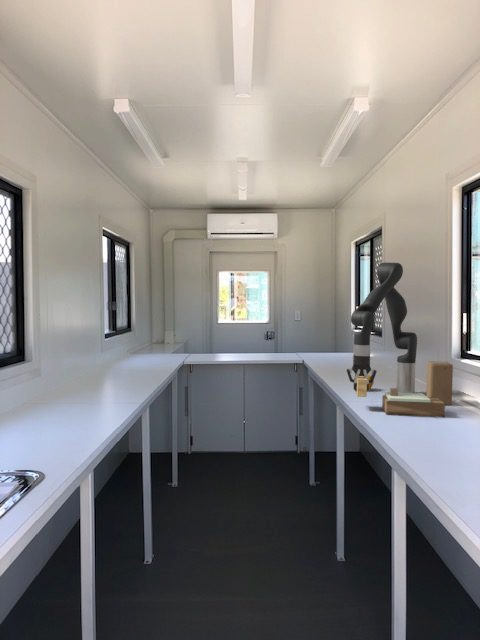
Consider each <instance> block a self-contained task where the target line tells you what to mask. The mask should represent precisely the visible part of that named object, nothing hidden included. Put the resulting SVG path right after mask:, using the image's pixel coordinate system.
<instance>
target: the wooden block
mask: <svg viewBox="0 0 480 640" xmlns="http://www.w3.org/2000/svg"><path fill="white" fill-rule="evenodd" d="M453 369H454V366H453V364H452V363H450V362H448V361H442V360H441V361H439V360H438V361H435V360H428V361H427V362H426V384H425V385H426V387H425V388H426V395H425V396H427V397H437V398H438V399H440V400H441V401H442V402H443V403H445V406H451V405H452V404H453V373H454V372H453V371H454V370H453Z"/></svg>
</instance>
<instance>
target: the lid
mask: <svg viewBox="0 0 480 640" xmlns="http://www.w3.org/2000/svg"><path fill="white" fill-rule="evenodd" d="M384 395H385V396H386V397H387V398H388V400H389V401H405V402H430V399H429V398H428V397H427V396H426V395H425V394H424V393H421V392H419V393H418V392H417V393H416V392H415V393H398V389H397V387H390V388H389V392H388V391H385V392H384Z"/></svg>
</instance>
